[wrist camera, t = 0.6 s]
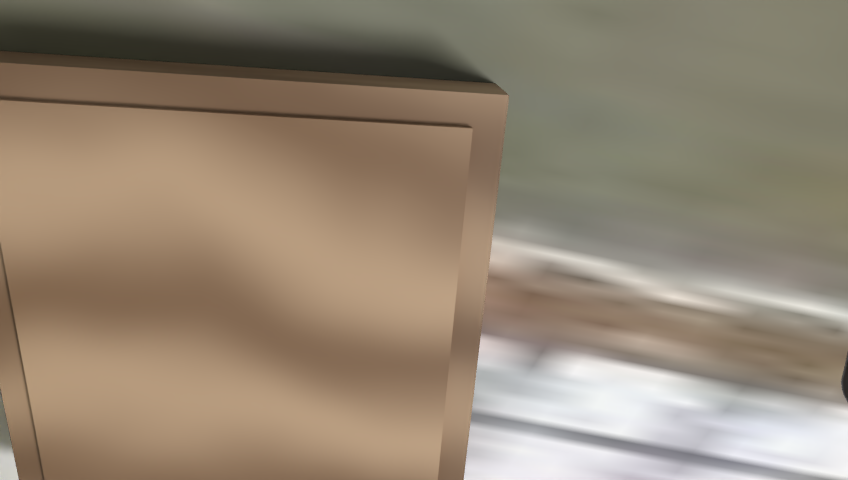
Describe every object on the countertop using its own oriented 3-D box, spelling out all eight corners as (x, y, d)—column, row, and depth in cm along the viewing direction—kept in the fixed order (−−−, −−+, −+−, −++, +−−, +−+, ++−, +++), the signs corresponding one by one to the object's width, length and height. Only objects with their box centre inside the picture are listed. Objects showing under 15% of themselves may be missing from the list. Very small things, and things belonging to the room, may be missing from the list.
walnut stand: (452, 469, 27) (459, 519, 24) (58, 462, 25) (22, 514, 23) (495, 83, 21) (510, 96, 18) (-14, 50, 20) (-73, 58, 17)
